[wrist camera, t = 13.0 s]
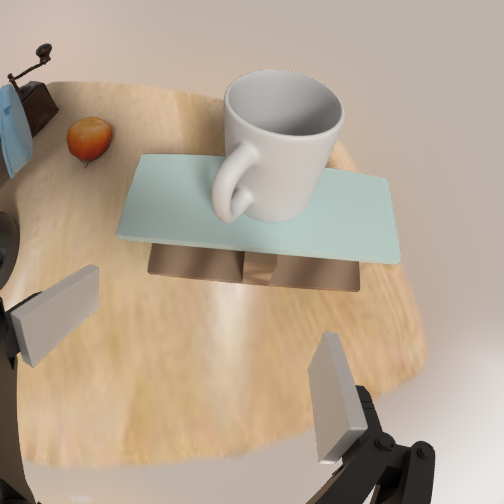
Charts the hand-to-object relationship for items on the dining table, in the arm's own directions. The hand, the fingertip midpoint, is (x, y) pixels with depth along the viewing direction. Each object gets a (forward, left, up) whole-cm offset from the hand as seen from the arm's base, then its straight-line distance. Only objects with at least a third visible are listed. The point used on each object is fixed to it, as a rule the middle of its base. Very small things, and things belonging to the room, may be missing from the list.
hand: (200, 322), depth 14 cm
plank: (-9, +10, -9) cm, 16 cm away
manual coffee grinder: (-62, -18, -17) cm, 66 cm away
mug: (-9, +10, -8) cm, 15 cm away
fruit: (-37, -6, -17) cm, 41 cm away
